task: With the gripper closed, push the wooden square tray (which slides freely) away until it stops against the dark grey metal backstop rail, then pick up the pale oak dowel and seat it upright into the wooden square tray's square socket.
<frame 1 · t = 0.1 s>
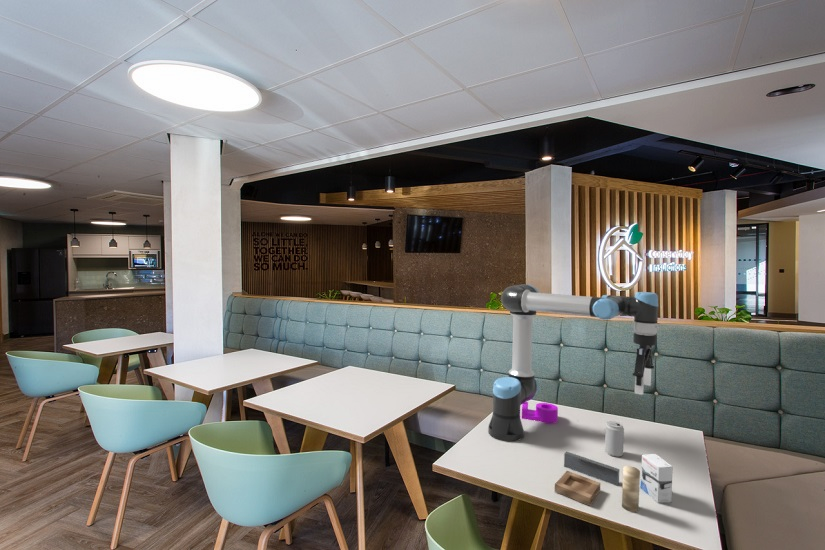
hand: (642, 389, 147), 28 cm above the table, fingers open, 13 cm apart
tape dispenser: (539, 418, 188), on the table
beverage can: (613, 454, 154), on the table
dowel: (630, 507, 121), on the table
wooden square tray: (577, 487, 129), point 1 cm above the table, slide at 0.0 cm
ink box: (655, 495, 128), on the table
backstop rail: (590, 474, 139), on the table
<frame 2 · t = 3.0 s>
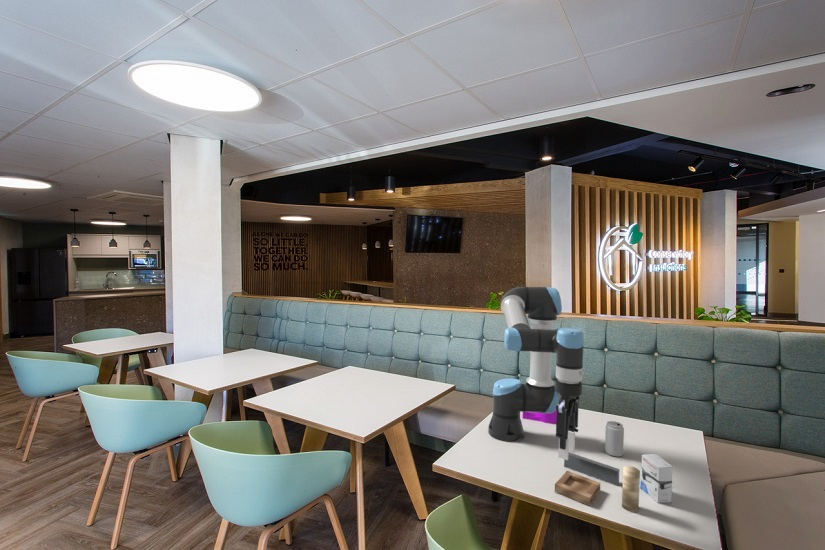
hand: (566, 455, 119), 17 cm above the table, fingers open, 4 cm apart
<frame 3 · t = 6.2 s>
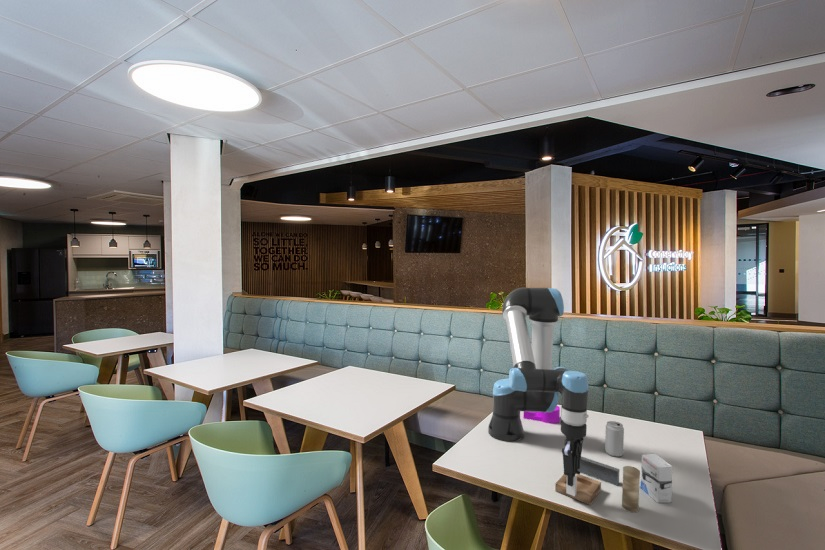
hand: (571, 493, 125), 2 cm above the table, fingers closed
wooden square tray: (578, 486, 129), point 1 cm above the table, slide at 0.6 cm, touching gripper
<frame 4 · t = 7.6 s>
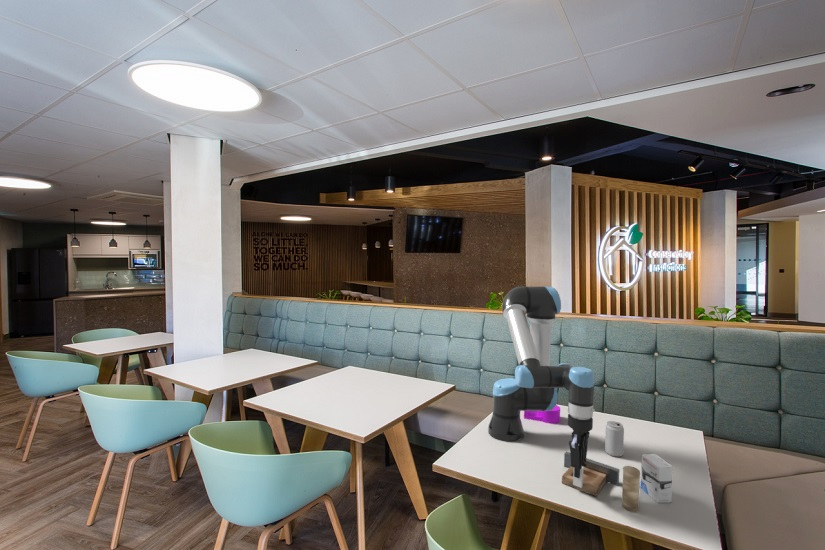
hand: (577, 485, 129), 2 cm above the table, fingers closed
wooden square tray: (584, 478, 134), point 1 cm above the table, slide at 6.6 cm, touching gripper
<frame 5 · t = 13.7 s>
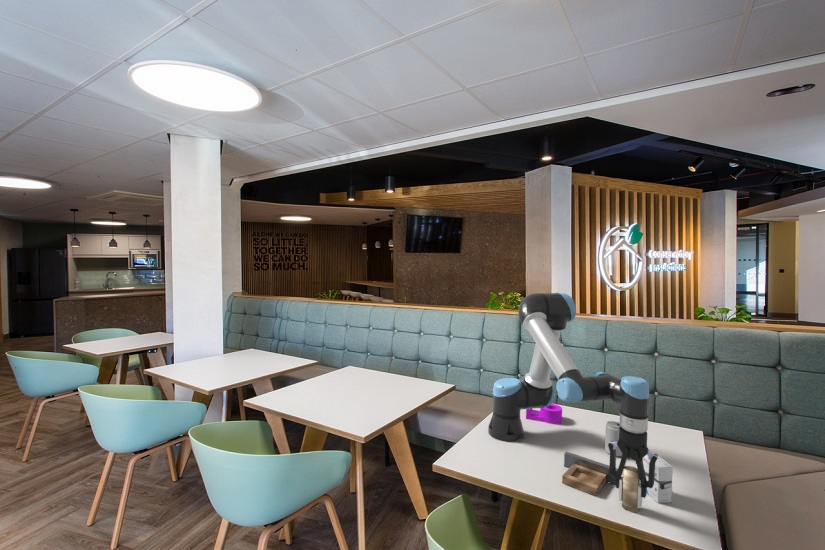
hand: (630, 502, 121), 2 cm above the table, fingers closed on dowel, 4 cm apart
dowel: (630, 507, 121), on the table, touching gripper
wooden square tray: (584, 478, 134), point 1 cm above the table, slide at 6.7 cm
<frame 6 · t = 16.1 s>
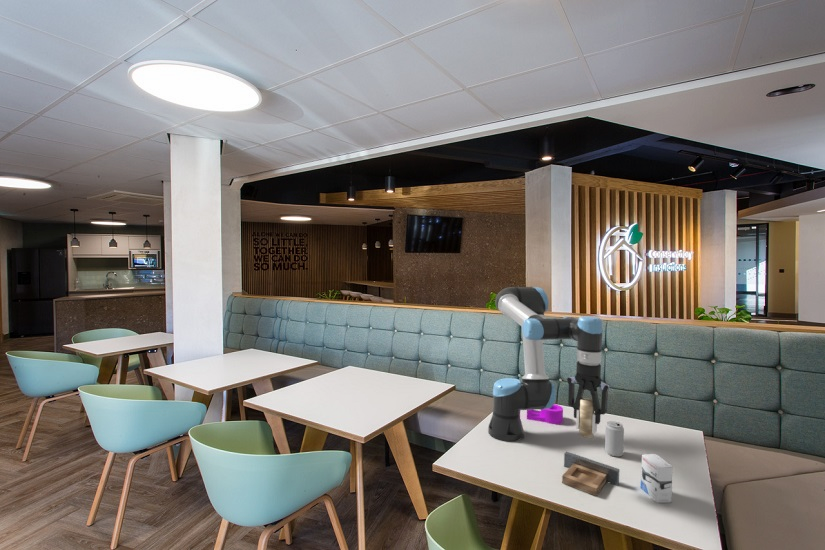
hand: (586, 429, 133), 18 cm above the table, fingers closed on dowel, 4 cm apart
dowel: (586, 434, 133), point 17 cm above the table, touching gripper
when the fingers open (4 cm above the table, at t = 19.0 s): dowel stays where it is, resting on wooden square tray.
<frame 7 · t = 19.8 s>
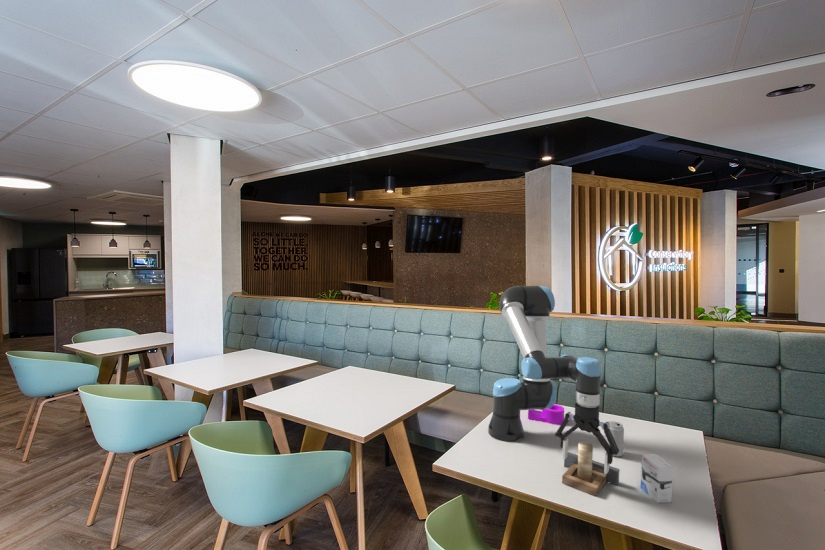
hand: (585, 464, 134), 6 cm above the table, fingers open, 13 cm apart
dowel: (584, 479, 134), point 1 cm above the table, touching wooden square tray
wooden square tray: (584, 478, 134), point 1 cm above the table, slide at 6.7 cm, touching dowel
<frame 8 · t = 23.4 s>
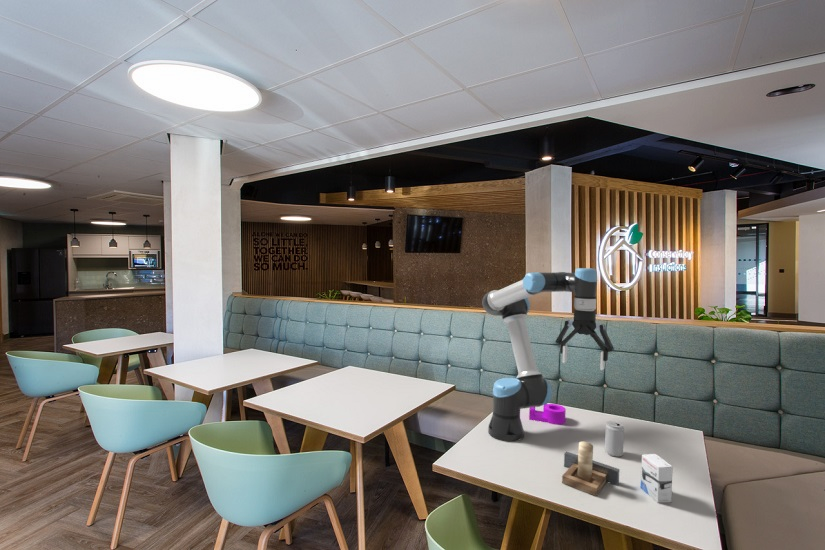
hand: (582, 365, 146), 37 cm above the table, fingers open, 13 cm apart
at the end: wooden square tray slide at 6.7 cm; dowel 0.3 cm off-centre on the wooden square tray, point 1.2 cm above the wooden square tray's base; dowel tilted 1° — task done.
